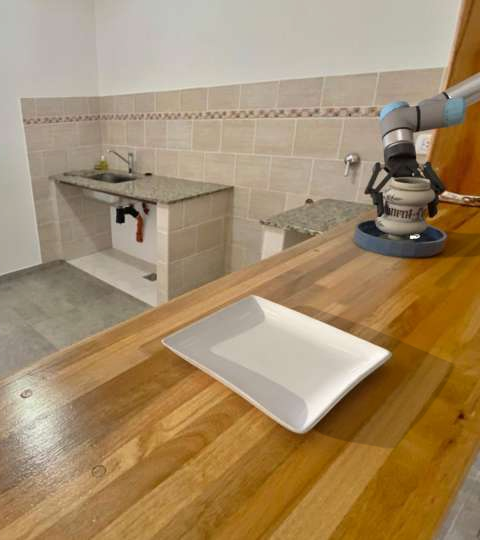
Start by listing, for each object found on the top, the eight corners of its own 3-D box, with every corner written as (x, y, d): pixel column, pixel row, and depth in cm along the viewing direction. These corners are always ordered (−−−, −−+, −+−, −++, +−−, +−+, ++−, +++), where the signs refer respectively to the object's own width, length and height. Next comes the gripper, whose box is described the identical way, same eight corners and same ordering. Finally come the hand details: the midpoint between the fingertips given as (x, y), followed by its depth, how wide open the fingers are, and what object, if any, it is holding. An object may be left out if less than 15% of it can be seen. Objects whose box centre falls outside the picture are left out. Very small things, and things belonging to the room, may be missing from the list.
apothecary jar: (365, 243, 111) (378, 181, 104) (379, 232, 118) (393, 173, 111) (414, 253, 103) (433, 186, 95) (426, 241, 110) (445, 178, 102)
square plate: (299, 455, 49) (303, 433, 48) (158, 356, 70) (158, 338, 68) (390, 368, 63) (396, 348, 62) (251, 306, 84) (252, 291, 82)
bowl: (439, 238, 113) (444, 224, 111) (444, 264, 97) (449, 248, 95) (356, 229, 124) (359, 216, 123) (348, 251, 109) (351, 236, 107)
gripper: (440, 156, 112) (450, 222, 105) (348, 158, 118) (353, 220, 111) (454, 140, 105) (467, 209, 98) (357, 142, 111) (362, 207, 104)
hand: (406, 215), depth 105 cm, fingers closed on apothecary jar, 12 cm apart
